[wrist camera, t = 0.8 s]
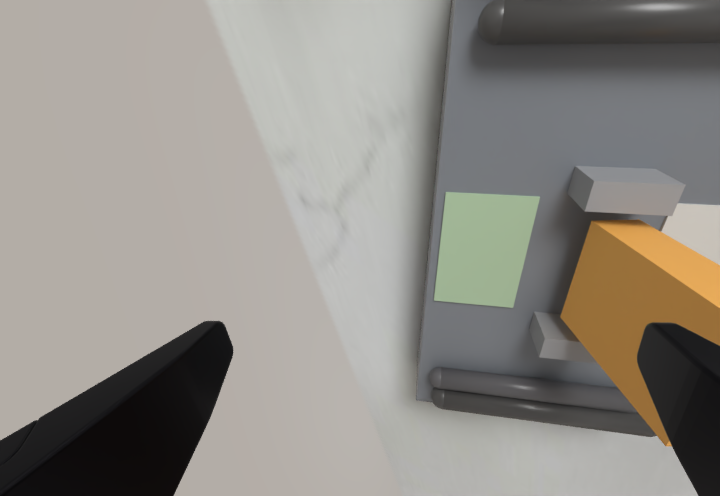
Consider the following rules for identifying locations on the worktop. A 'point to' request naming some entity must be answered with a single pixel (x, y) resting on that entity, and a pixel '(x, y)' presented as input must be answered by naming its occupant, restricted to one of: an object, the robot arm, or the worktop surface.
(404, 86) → the worktop surface
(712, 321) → the lever
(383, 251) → the worktop surface
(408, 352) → the worktop surface
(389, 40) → the worktop surface
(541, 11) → the panel
